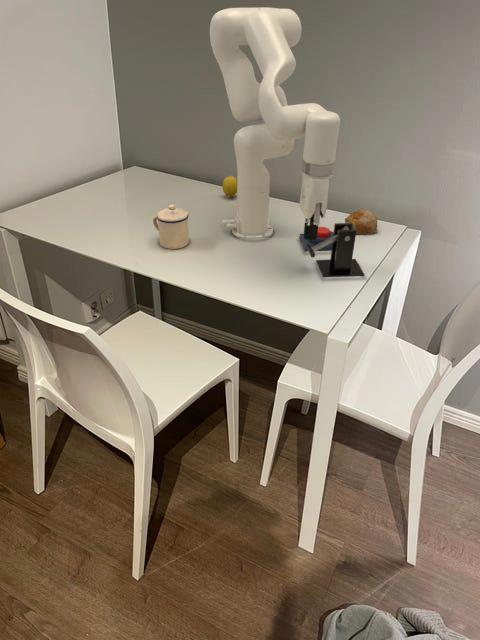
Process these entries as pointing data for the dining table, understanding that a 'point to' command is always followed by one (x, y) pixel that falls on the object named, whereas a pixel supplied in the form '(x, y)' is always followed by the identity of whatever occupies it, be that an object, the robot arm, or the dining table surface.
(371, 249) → the dining table surface
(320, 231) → the button
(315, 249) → the lever
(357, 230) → the bread roll
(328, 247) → the button housing
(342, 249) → the lever bracket
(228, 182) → the lemon
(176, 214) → the teacup with lid
